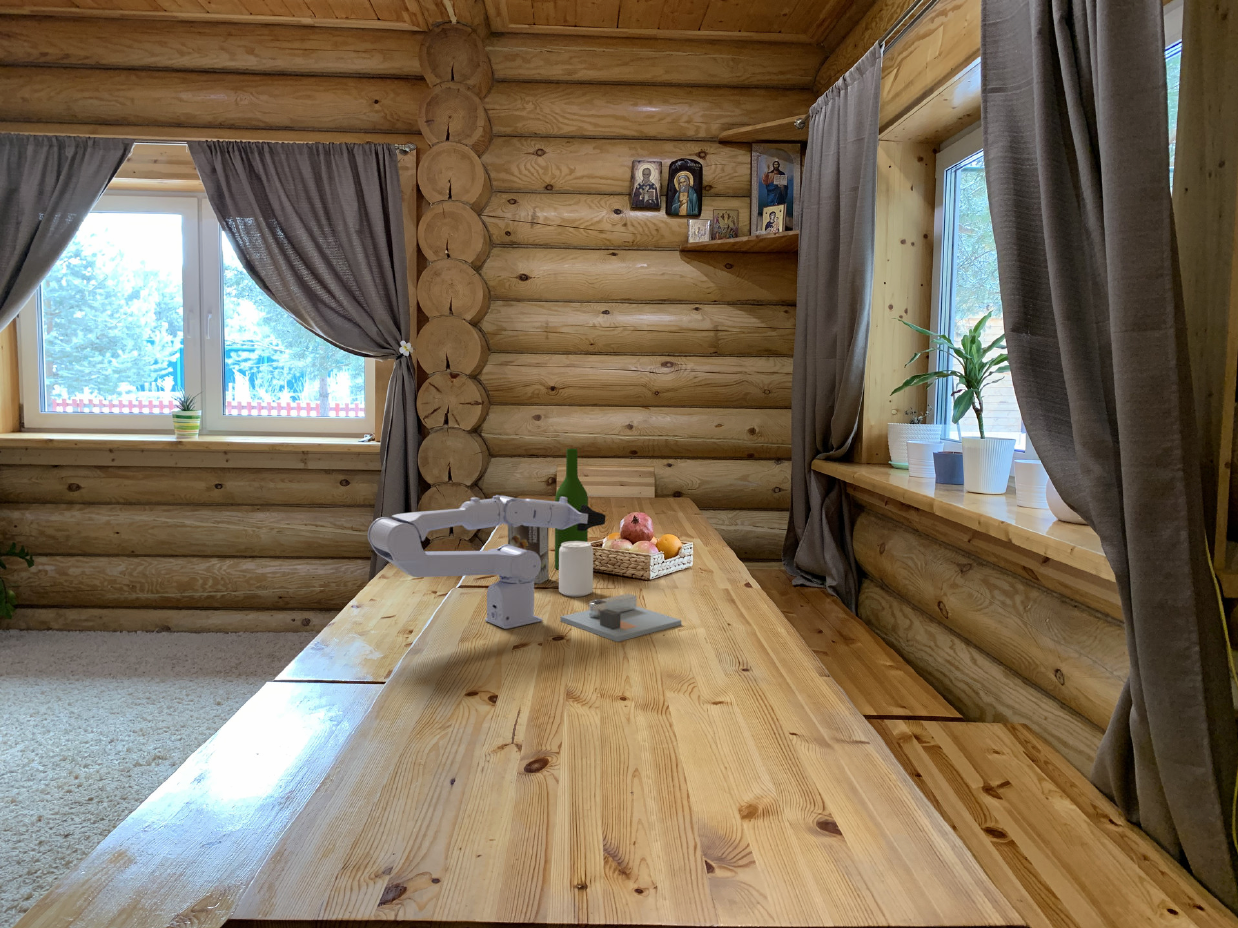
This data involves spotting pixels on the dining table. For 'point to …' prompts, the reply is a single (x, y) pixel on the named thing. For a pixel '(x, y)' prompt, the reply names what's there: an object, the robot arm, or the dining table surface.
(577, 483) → the wine bottle
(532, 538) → the coffee box
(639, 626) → the latch board
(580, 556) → the beverage can
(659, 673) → the dining table surface
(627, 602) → the latch bar
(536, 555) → the robot arm
